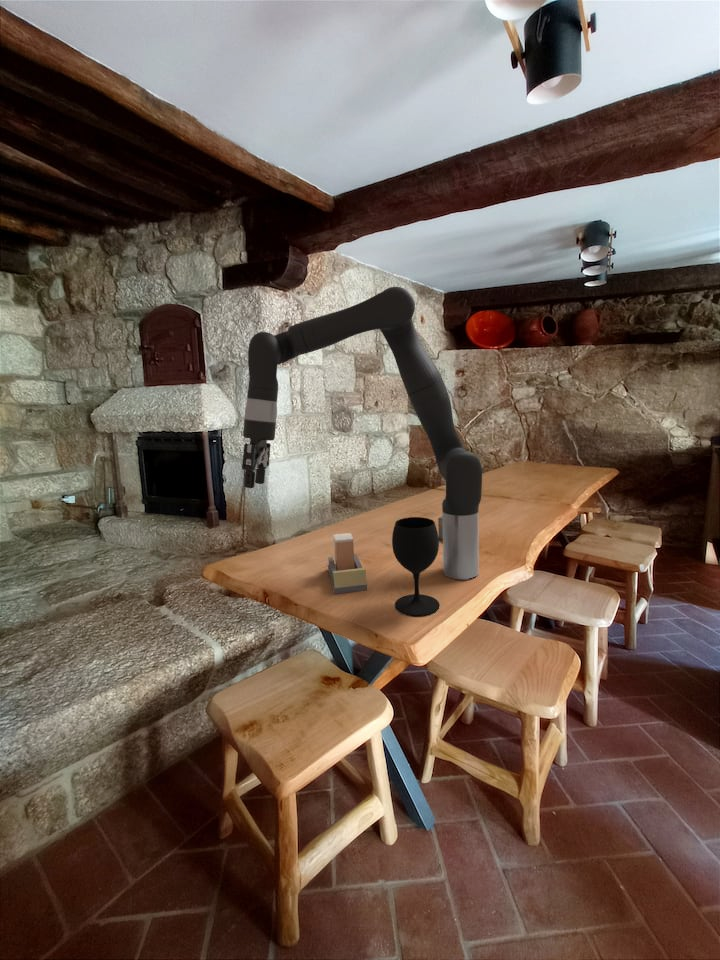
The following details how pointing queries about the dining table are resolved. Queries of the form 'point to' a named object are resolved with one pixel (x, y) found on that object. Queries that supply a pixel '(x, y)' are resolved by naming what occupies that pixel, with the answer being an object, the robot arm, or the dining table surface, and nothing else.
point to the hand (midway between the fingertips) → (254, 485)
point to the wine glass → (416, 560)
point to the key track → (347, 577)
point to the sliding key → (344, 551)
